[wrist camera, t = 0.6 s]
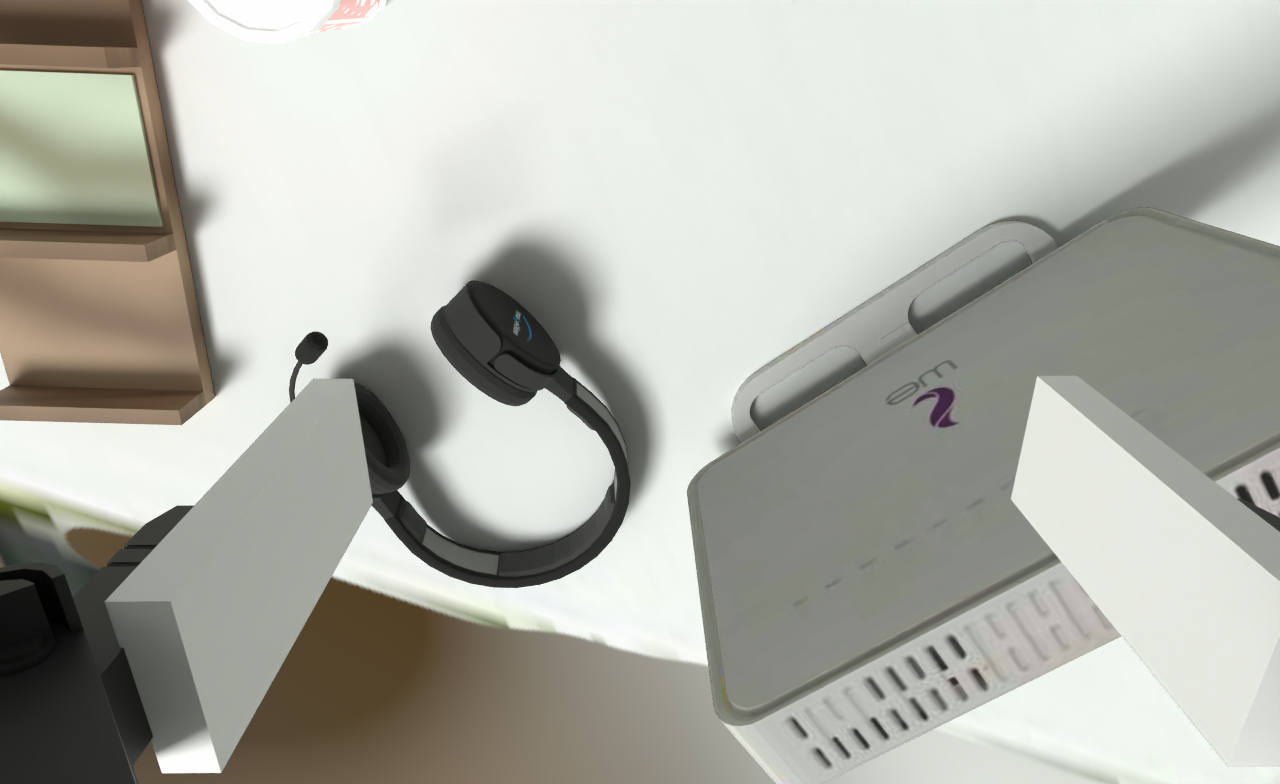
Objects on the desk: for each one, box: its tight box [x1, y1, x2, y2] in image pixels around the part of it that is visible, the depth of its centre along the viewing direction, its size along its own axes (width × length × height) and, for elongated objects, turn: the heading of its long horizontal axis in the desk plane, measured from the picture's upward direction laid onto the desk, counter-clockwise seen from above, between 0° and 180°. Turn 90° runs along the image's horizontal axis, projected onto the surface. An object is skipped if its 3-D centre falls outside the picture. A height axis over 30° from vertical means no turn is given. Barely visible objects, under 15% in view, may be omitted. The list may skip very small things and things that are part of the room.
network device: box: [687, 207, 1280, 784], centre depth 34 cm, size 26×9×20 cm, turn 125°
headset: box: [289, 281, 630, 588], centre depth 41 cm, size 14×10×20 cm
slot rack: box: [0, 0, 215, 425], centre depth 37 cm, size 26×10×4 cm, turn 178°
